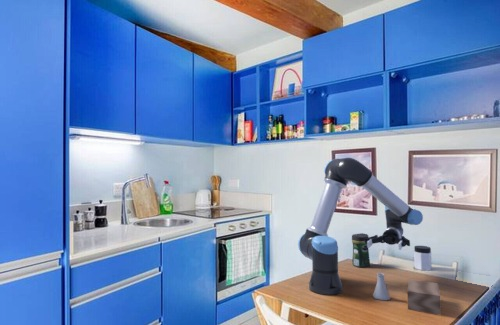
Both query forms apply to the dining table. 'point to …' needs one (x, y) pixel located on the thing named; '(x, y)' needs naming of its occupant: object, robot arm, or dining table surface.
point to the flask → (381, 288)
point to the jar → (422, 258)
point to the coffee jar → (360, 250)
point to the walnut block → (424, 296)
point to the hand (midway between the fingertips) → (383, 245)
